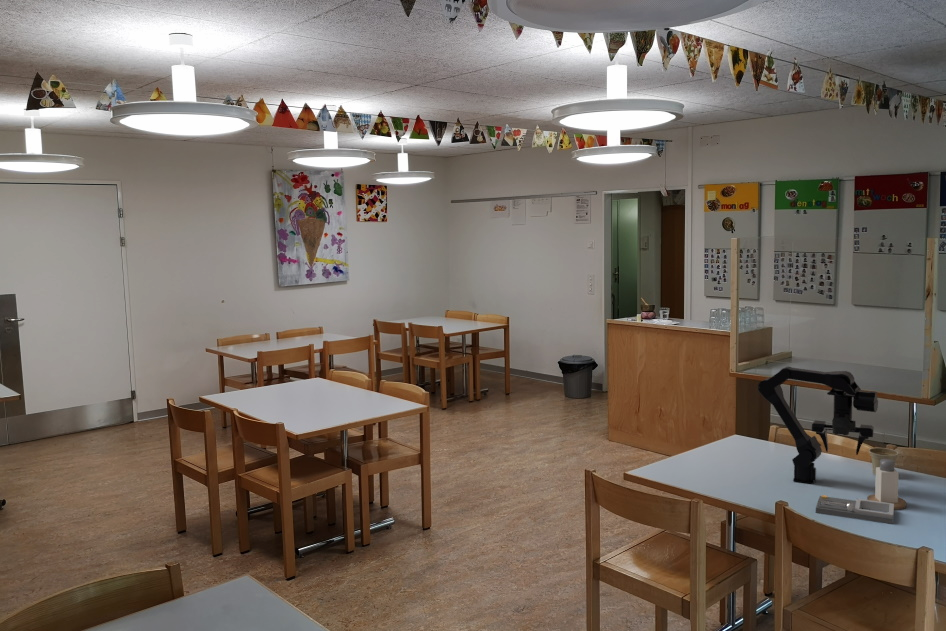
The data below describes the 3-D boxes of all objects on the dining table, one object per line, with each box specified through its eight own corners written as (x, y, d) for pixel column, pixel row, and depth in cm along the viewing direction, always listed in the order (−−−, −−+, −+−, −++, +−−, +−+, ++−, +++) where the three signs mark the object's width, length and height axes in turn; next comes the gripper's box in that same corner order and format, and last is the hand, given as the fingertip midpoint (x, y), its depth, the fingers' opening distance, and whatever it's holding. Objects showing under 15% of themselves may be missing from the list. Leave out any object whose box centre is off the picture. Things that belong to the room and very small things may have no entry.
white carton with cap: (880, 502, 238) (881, 462, 236) (875, 496, 243) (876, 458, 241) (897, 502, 237) (898, 463, 235) (891, 497, 242) (892, 458, 240)
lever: (817, 512, 234) (817, 500, 234) (818, 510, 236) (818, 498, 235) (852, 517, 229) (853, 504, 229) (853, 515, 231) (853, 503, 230)
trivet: (866, 506, 238) (866, 502, 238) (868, 495, 247) (868, 492, 247) (905, 511, 232) (906, 508, 232) (906, 500, 242) (906, 497, 242)
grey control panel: (815, 512, 234) (815, 504, 234) (819, 500, 244) (820, 492, 244) (892, 524, 223) (893, 515, 223) (893, 510, 234) (894, 502, 233)
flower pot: (895, 480, 261) (896, 456, 260) (865, 476, 266) (866, 452, 266) (899, 473, 268) (900, 450, 267) (870, 469, 274) (871, 446, 273)
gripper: (810, 411, 251) (809, 456, 253) (872, 416, 242) (871, 463, 243) (813, 404, 261) (813, 447, 262) (874, 409, 251) (873, 454, 253)
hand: (841, 453), depth 255 cm, fingers open, 9 cm apart
